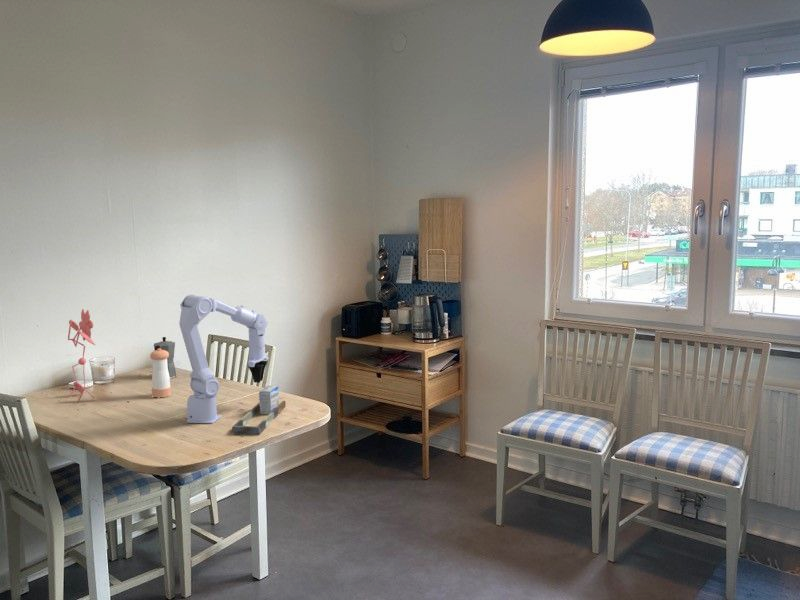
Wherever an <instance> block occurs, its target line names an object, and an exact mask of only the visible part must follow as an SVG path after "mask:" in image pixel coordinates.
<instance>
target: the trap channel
mask: <svg viewBox="0 0 800 600" xmlns="http://www.w3.org/2000/svg"><path fill="white" fill-rule="evenodd" d="M285 407H286V400H282V401H281V402H279V405H278V406H277V407H276V408H275V409H274V410H273V411H272V412H271V413H270V414H267V416H266V417H265V418H264V419H263V420H261V422H260V423H259V424H258V425H257V426H253V425H252V426H251V425H249V426H248V425H247V424H248V423H249V422H251V420H252V419H253V418H255V417H256V416H257V415H258V414H260V402H258V403H257V404H256V405H255V406H254V407H253V408H251V410H249V411H248V412H247V413H246V414H245V415H244V416H242V418H240V419H239V420H238V421H237V422H236V423H235V424H234V425H232V435H244V436H245V435H250V436H251V435H253V436H260V435H261V434H262V433H263V432H264V431H265V429H266V428H268V426H270V424H271V423H272V422H273V421H274V420H276V418H277V417H278V416H279V415H280V414H281V413H282V412H283V411H282V410H283V409H284V408H285ZM286 408H287V407H286ZM286 408H285V409H286ZM285 409H284V410H285ZM281 411H282V412H281ZM280 412H281V413H280ZM279 413H280V414H279ZM278 414H279V415H278Z"/></svg>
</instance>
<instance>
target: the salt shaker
mask: <svg viewBox="0 0 800 600" xmlns="http://www.w3.org/2000/svg"><path fill="white" fill-rule="evenodd" d="M154 350H155V349H154ZM154 350H153V351H151V353H150V355H149V358H150V359H151V360H152V376H151V377H152V378H151V383H152V384H151V386H152V387H151V397H152V396H153V397H166V396H169V395H171V394H172V386H171V379H170V376H169V372H168V365H167V358H168V357H169V353H168V352H167V351H165V350H161V349H160V348H158V349H157V350H155V351H154ZM171 396H172V395H171ZM153 397H152V398H153ZM169 397H170V396H169ZM166 398H167V397H166Z"/></svg>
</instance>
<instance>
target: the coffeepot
mask: <svg viewBox="0 0 800 600" xmlns="http://www.w3.org/2000/svg"><path fill="white" fill-rule="evenodd" d="M161 339H162V341H158V342H155V343H154V344H153V348H154V350H153V351H155V350H157V349H158V348H160V349H161V350H165V351H167V352H168V353H169V357H168V358H167V365H168V372H169V376H170V377H173V376H176V374H177V371H176V366H175V362H174V358H175V347H176V342H175V341H172V340H171V341H170V340H166V339H167V337H166V336H163V337H161ZM176 377H177V376H176Z"/></svg>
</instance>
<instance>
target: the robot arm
mask: <svg viewBox="0 0 800 600" xmlns="http://www.w3.org/2000/svg"><path fill="white" fill-rule="evenodd" d="M180 309H181V311H180V317H179V322H178V324H179V328H180V332H181V334H182V339H183V342H184V346H185V348H186V349H185V350H186V353H187V357H188V358H189V363H190V367H191V371H192V372H191V373H190V374H189V376H190V384H189V385H190V389H191V390H192V391H193V394H191V395H189V396H188V398H187V403H186V407H187V408H186V409H187V412H186V413H187V421H186V423H190V424H195V423H196V424H214V423H215V422H216V421H218V420H219V419H220V418H221V417H222V415H221V414H218V407H217V394H218V392H219V390H220V385H221V384H220V382H219V381H218V379H217V378H216V377H215V374H214V372H213V371H212V370H211V369H210V367H209V365H208V364H209V362H208V361H207V356H206V353H205V348H204V346H203V342H202V338H201V334H200V332H199V328H198V325H199V324H200V322H201V321H202V320H204V319H205V318H206V317H207V316H208V315H210V313H214V312H219V313H220V314H224V315H227V316H229V317H230V318H231V321H232V322H235V323H238V324H240V325H242V326H245V327H246V328H247V329H248V345H249V346H248V350H249V357H248V362H247V363H248V364H247V368H248V369H249V371H250V373H251V376H252V379H253V383H261V382H262V381H263V379H264V374H265V370H266V367H267V364H268V360H269V356H267V352H266V343H265V342H266V341H265V337H266V335H265V333H266V328H267V326H268V320H267V318H266V317H265V315H264V314H259V313H256V311H255V310H249V309H247V307H246V306H244V305H240V306H239V305H237V306H235V307H233V306H230V305H229V304H226V303H224V302H222V301H220V300H218V299H215V298H211V297H208V296H199V295H195V294H189V295H186V296H185V297H184V298H183V300H182V302H181V303H180Z"/></svg>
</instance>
